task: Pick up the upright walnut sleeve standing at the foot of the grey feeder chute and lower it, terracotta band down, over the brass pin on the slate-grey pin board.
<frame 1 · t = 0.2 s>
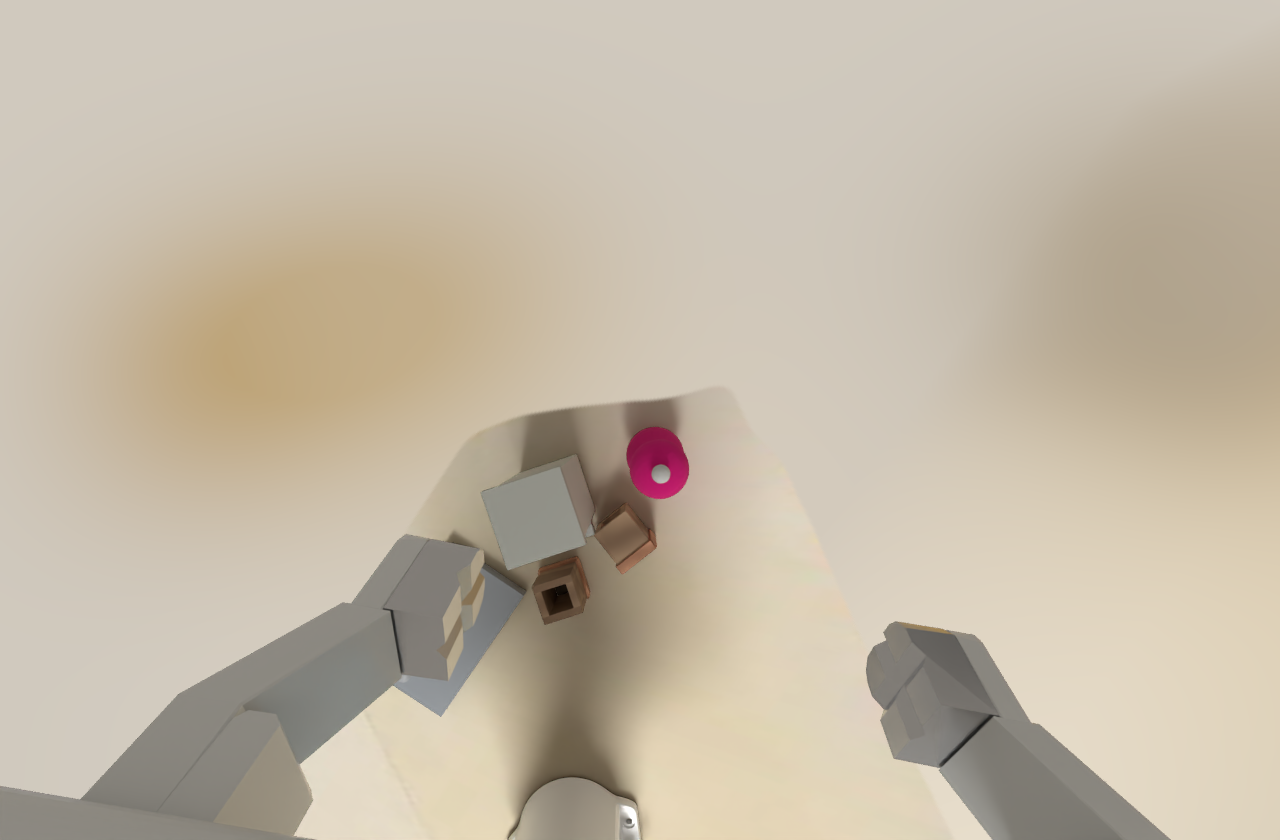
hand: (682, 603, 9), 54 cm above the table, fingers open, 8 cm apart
sleeve b: (625, 530, 64), on the table
feeder: (557, 491, 63), on the table
pin board: (449, 626, 64), on the table
sleeve a: (565, 581, 64), on the table
pepper mill: (653, 451, 63), on the table
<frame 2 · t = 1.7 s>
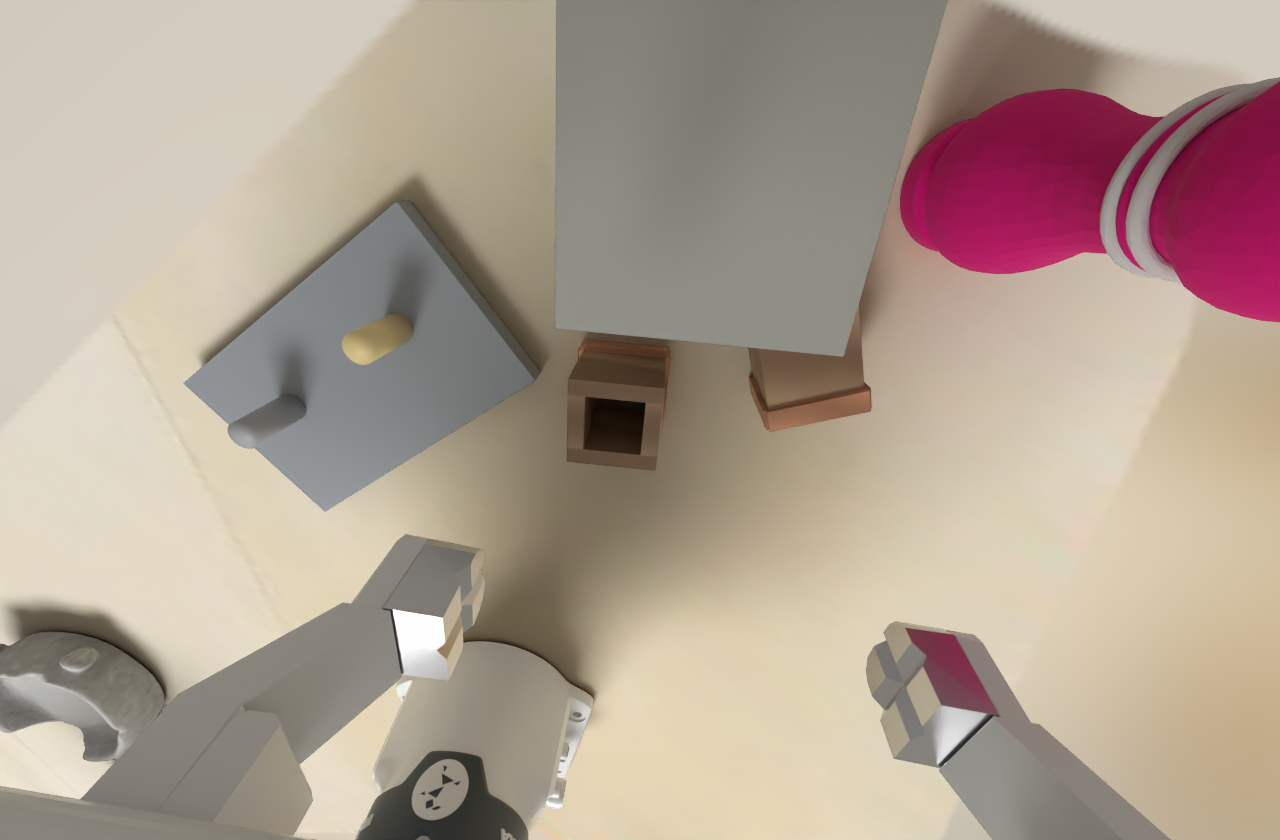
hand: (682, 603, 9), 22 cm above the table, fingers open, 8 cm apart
sleeve b: (789, 340, 29), on the table
dish: (103, 668, 48), on the table
feeder: (693, 184, 25), on the table
pin board: (368, 373, 31), on the table
sleeve a: (623, 384, 31), on the table
pepper mill: (958, 188, 25), on the table
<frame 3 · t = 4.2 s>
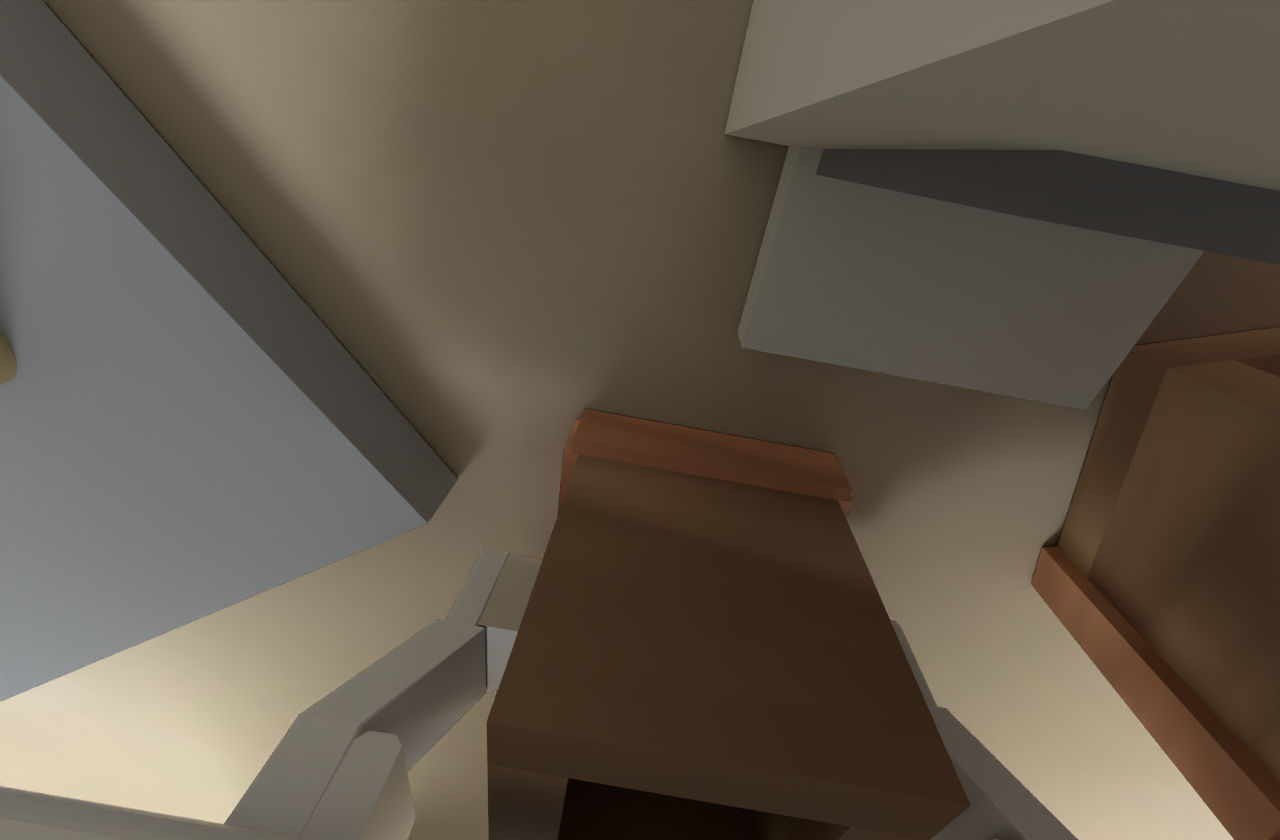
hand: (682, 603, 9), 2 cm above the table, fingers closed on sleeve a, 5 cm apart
sleeve b: (1221, 469, 9), on the table
sleeve a: (682, 529, 11), on the table, touching gripper
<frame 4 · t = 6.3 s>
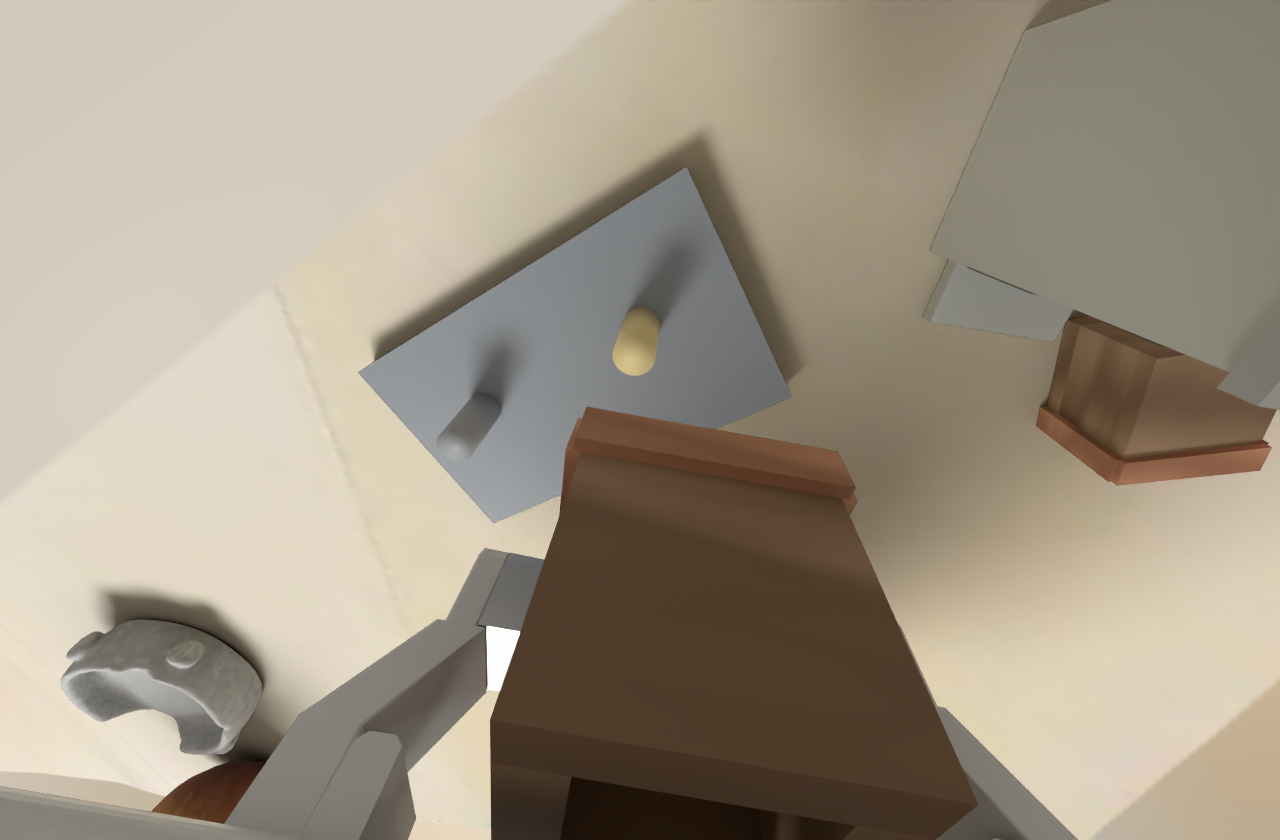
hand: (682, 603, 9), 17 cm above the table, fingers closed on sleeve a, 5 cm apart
butternut squash: (265, 767, 55), on the table
sleeve b: (1109, 367, 24), on the table
dish: (198, 656, 45), on the table
feeder: (1066, 167, 20), on the table
pin board: (574, 372, 26), on the table
sleeve a: (684, 527, 11), point 15 cm above the table, touching gripper
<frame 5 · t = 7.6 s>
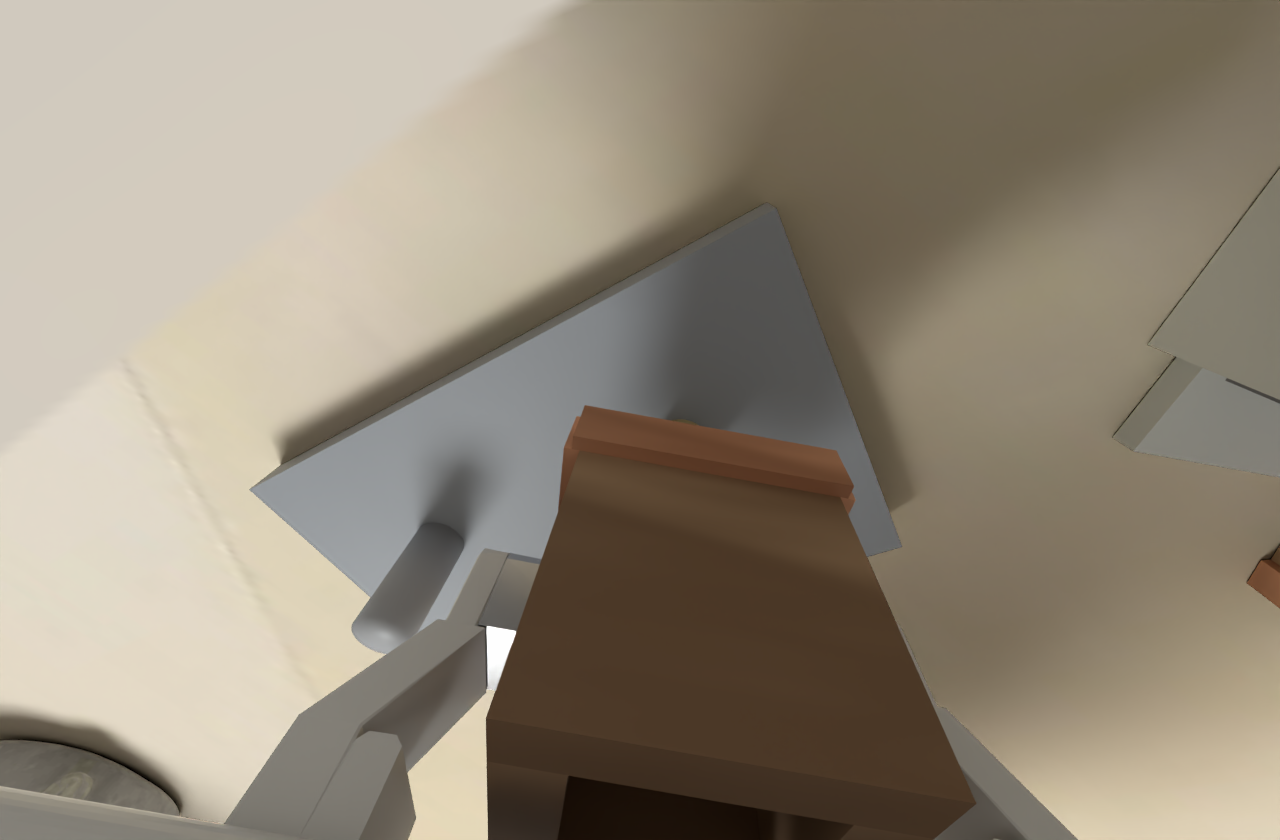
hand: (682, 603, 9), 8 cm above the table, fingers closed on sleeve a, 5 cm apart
dish: (97, 774, 36), on the table
pin board: (573, 490, 18), on the table
sleeve a: (683, 526, 11), point 5 cm above the table, touching gripper
when the fingers open (5 cm above the table, at t = 8.5 s): sleeve a stays where it is, resting on pin board.
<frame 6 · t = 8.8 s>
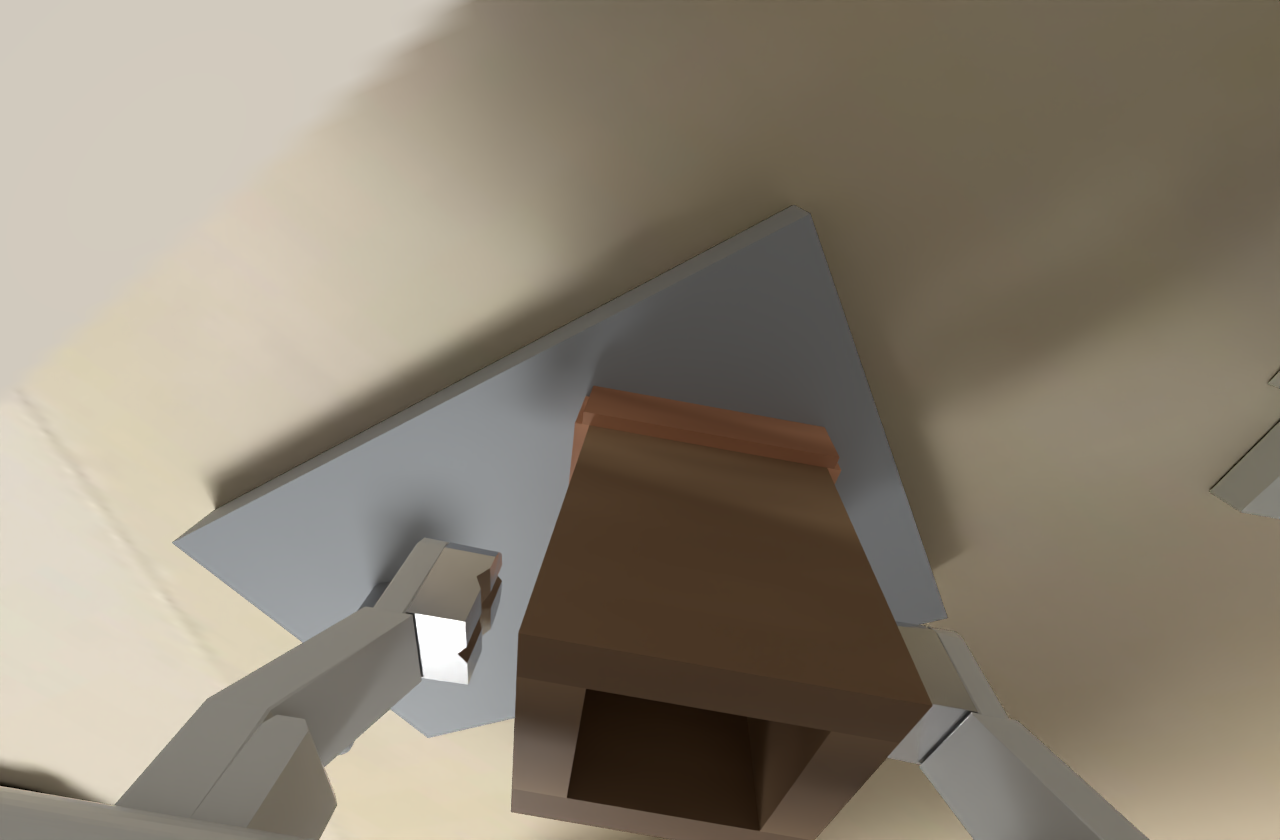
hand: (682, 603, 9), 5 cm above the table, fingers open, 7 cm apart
pin board: (555, 542, 15), on the table
sleeve a: (683, 500, 12), point 1 cm above the table, touching pin board
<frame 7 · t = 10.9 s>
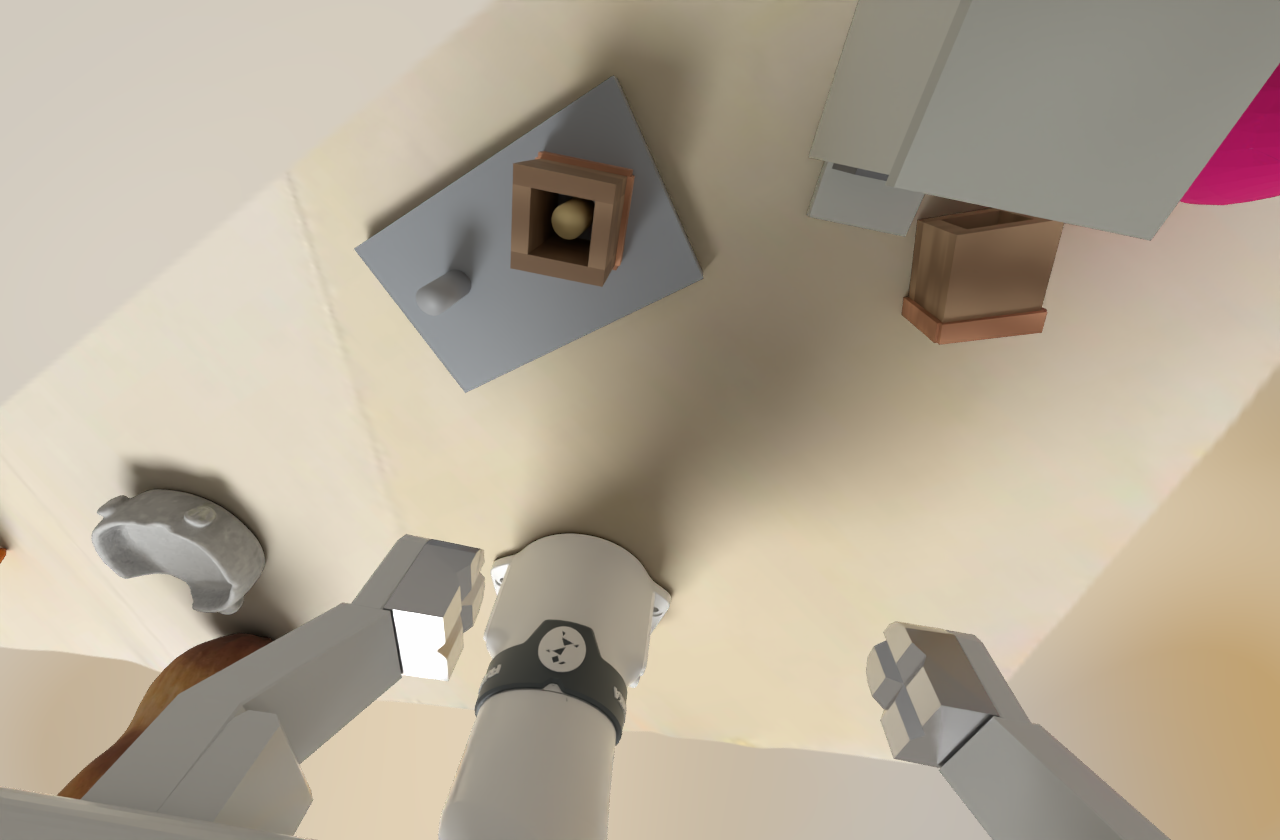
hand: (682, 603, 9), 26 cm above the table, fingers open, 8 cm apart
butternut squash: (264, 645, 62), on the table
sleeve b: (954, 263, 30), on the table
dish: (208, 530, 51), on the table
feeder: (906, 89, 25), on the table
pin board: (532, 258, 32), on the table
carrot: (7, 547, 56), on the table
sleeve a: (583, 211, 29), point 1 cm above the table, touching pin board
pepper mill: (1165, 120, 25), on the table
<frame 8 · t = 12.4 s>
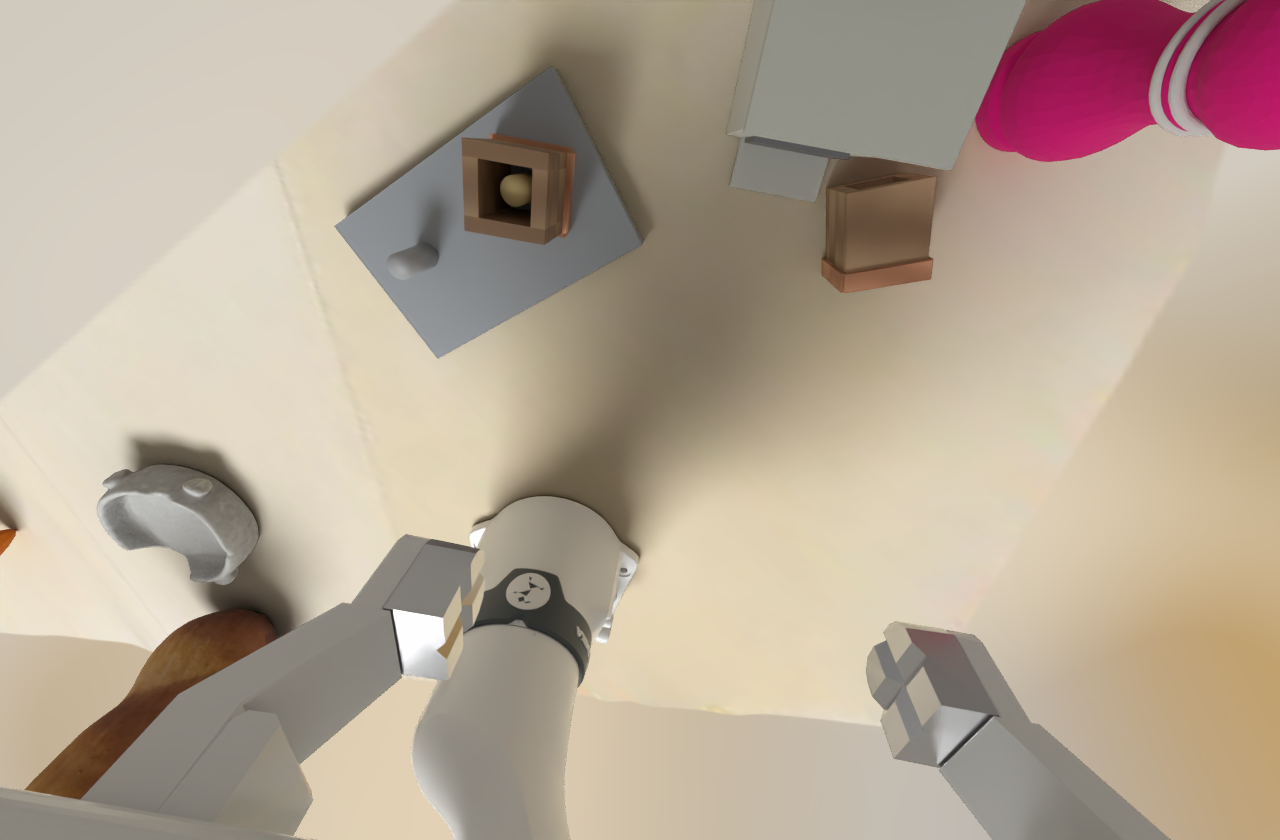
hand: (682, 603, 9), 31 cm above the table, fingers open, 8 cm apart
butternut squash: (259, 622, 65), on the table
sleeve b: (862, 226, 34), on the table
dish: (205, 505, 54), on the table
feeder: (803, 72, 30), on the table
pin board: (492, 232, 36), on the table
carrot: (16, 529, 59), on the table
sleeve a: (533, 186, 33), point 1 cm above the table, touching pin board
pepper mill: (1026, 94, 29), on the table
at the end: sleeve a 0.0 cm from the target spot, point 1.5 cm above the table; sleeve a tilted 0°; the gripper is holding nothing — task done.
